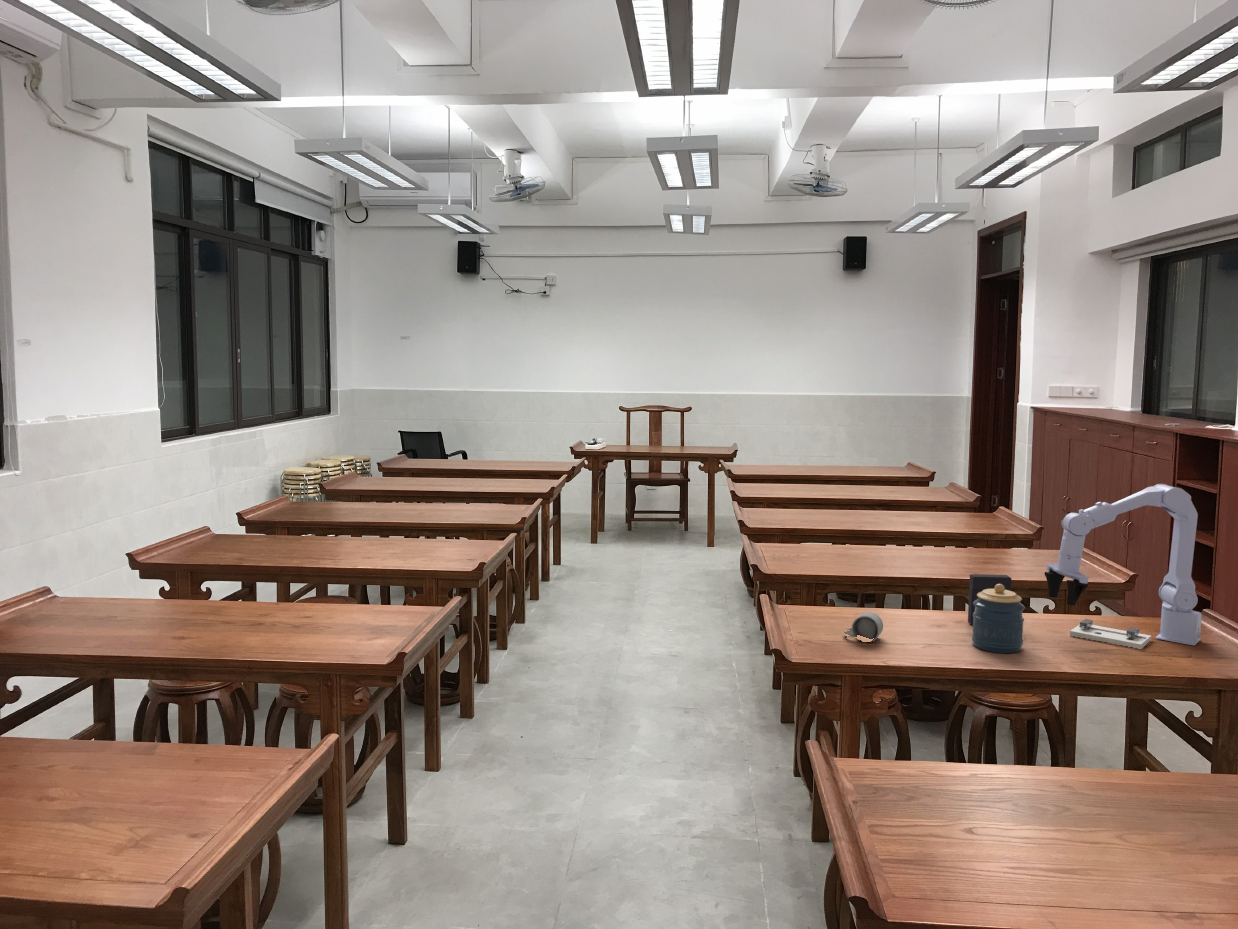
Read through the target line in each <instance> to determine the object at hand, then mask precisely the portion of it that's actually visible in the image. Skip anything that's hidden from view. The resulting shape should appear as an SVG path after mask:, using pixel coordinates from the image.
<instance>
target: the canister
mask: <svg viewBox="0 0 1238 929" xmlns="http://www.w3.org/2000/svg"><path fill="white" fill-rule="evenodd" d="M977 596H978V597H979V598H978V599H977V600H975V601H974V602H973V604H974V605H975V612H974V613H973V625H972V634H971V641H972V645H973V646H974V647H975V648H977V649H980V650H982V651H986V652H992V653H997V654H1014V653H1015V654H1016V653H1018V652H1020V651H1022V648H1023V644H1024V640H1023V636H1024V635H1023V634H1024V621H1025V618H1024V617H1023V611H1025V608H1026V607H1025V605H1024V604H1022V603H1021V601H1022V600H1023V598H1022V597H1021V596H1020V595H1018V594H1017V593H1016V592H1014V591H1009V590H1005V588H1004V586H1003V585H1002V584H997V585H995V587H994V589H985V590H983V591H982V592H979V593H978V594H977Z"/></svg>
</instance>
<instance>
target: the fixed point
mask: <svg viewBox="0 0 1238 929" xmlns="http://www.w3.org/2000/svg"><path fill="white" fill-rule="evenodd" d="M1126 631H1127V634H1126V636H1127V637H1129V638H1131V637H1133V638H1135V637H1136V636H1137V635H1138V634H1139V633H1140V628H1138V627H1134V626H1133V627H1132V626H1131V627H1130V628H1129V629H1127V630H1126Z"/></svg>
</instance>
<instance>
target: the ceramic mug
mask: <svg viewBox="0 0 1238 929" xmlns="http://www.w3.org/2000/svg"><path fill="white" fill-rule="evenodd" d="M846 630H850V631H847V632H844V631H843V632H844V633H845V634H848V635H852V636H851V637H854V638H855V637H857V635H860V636H863V637H866V638H869V639H873V638H874V639H873V640H872V641H873V642H875V641H876V640H878V638H879V637H880V635H881V633H882V632H883V630H884V622H883V619H882V618H881V617H880V616H879V615H878V614H877V613H875V612H865V613H862V614H861V615H859V616H858V617H856V618H855V619H854V620H853V622H852V624H851V627H850V628H847V629H846Z"/></svg>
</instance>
